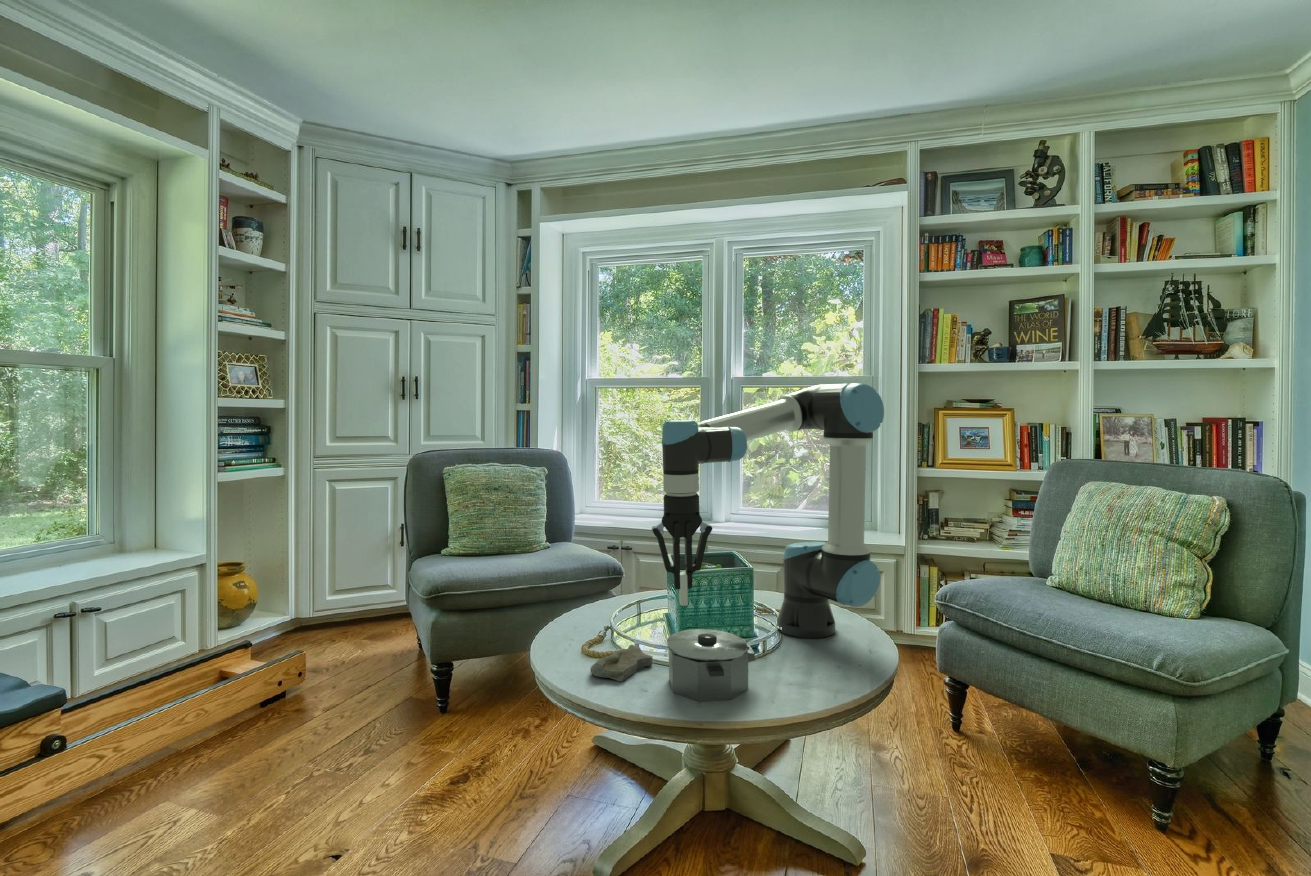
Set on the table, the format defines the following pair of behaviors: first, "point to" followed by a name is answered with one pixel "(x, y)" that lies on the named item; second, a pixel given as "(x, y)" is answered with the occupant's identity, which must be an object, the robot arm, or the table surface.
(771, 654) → the table surface
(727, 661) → the pot
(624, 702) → the table surface
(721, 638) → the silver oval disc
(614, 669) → the stone
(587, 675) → the table surface
